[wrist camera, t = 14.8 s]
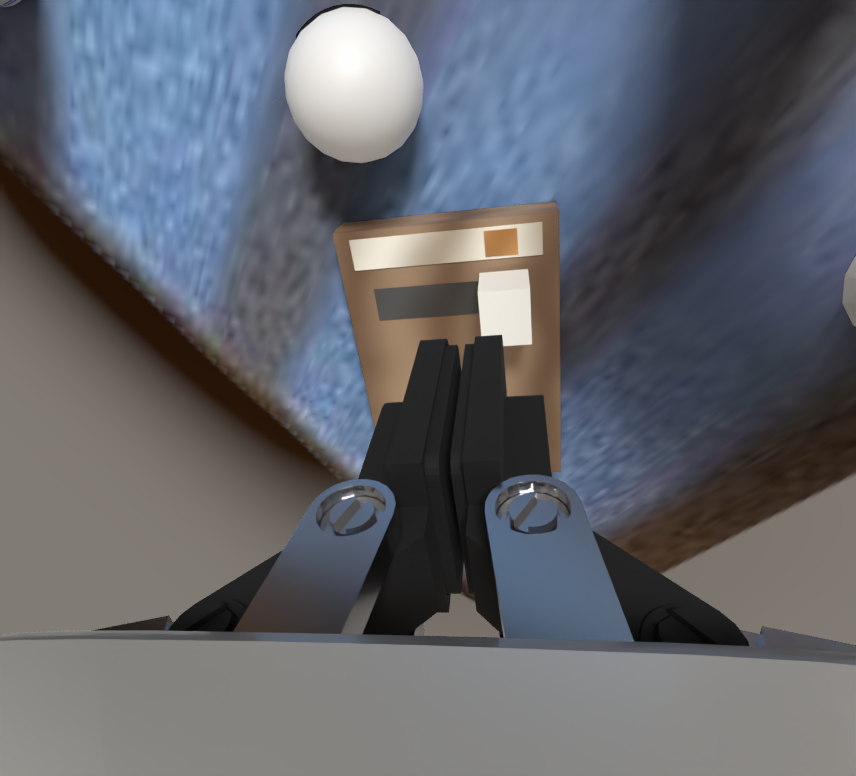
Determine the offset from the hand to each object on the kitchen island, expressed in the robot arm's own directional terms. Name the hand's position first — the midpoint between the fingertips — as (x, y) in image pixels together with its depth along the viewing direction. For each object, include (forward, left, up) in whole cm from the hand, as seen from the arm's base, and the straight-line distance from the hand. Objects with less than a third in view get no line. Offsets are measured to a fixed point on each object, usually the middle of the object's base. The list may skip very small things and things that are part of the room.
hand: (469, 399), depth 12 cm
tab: (0, +8, -24) cm, 25 cm away
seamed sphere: (+8, -5, -27) cm, 29 cm away
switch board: (+3, +13, -27) cm, 30 cm away
